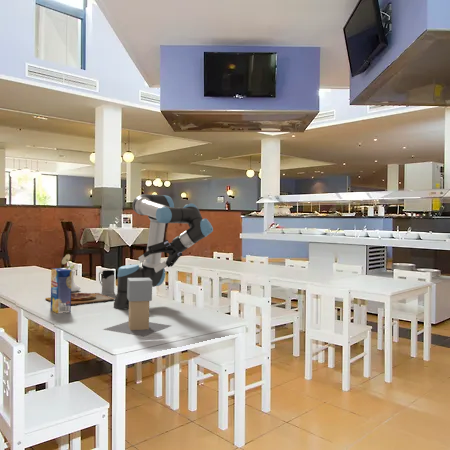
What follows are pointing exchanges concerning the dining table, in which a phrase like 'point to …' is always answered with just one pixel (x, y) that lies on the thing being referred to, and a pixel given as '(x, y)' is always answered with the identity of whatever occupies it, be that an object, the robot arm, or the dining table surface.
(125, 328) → the charcoal mat
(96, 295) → the pizza
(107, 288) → the grey metal pitcher
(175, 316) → the dining table surface
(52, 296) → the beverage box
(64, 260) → the flower in vase
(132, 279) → the grey matte cube
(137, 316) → the carton base
